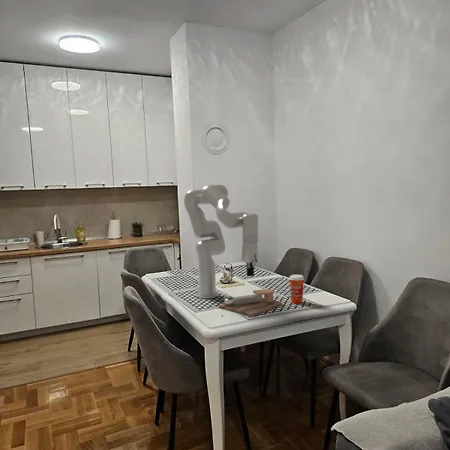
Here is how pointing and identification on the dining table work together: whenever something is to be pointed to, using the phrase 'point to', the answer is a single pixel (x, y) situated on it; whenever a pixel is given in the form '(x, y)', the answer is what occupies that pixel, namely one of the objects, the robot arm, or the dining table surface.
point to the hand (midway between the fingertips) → (250, 275)
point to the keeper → (265, 294)
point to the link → (243, 299)
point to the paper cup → (296, 288)
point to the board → (251, 307)
